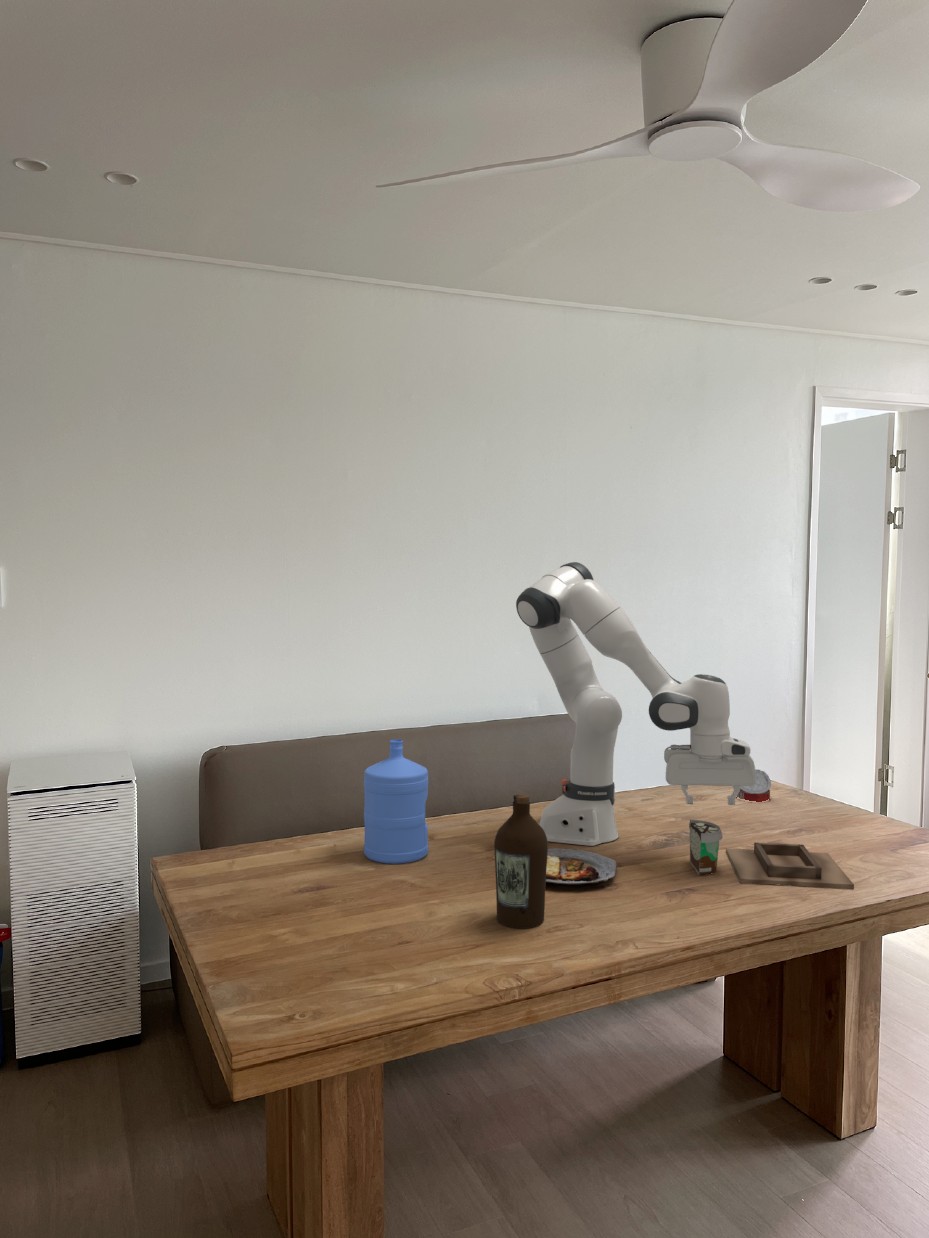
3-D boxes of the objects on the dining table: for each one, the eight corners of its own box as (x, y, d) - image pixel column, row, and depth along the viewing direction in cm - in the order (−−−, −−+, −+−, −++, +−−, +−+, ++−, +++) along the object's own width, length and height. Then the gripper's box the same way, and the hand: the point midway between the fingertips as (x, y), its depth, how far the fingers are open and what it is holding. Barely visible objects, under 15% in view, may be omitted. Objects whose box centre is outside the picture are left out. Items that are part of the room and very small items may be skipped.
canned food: (769, 814, 274) (784, 788, 270) (746, 815, 268) (761, 789, 264) (746, 789, 282) (760, 764, 278) (723, 790, 277) (737, 764, 273)
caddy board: (740, 883, 199) (741, 867, 199) (725, 852, 221) (726, 838, 221) (853, 889, 196) (854, 873, 196) (827, 857, 218) (828, 842, 218)
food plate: (613, 895, 191) (614, 879, 191) (505, 888, 196) (506, 872, 196) (617, 861, 216) (617, 847, 216) (521, 856, 220) (521, 841, 220)
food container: (728, 877, 203) (729, 834, 202) (700, 877, 203) (701, 834, 203) (714, 860, 215) (715, 819, 215) (688, 859, 215) (689, 818, 215)
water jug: (399, 869, 208) (399, 749, 206) (350, 856, 217) (350, 741, 215) (441, 852, 220) (441, 739, 218) (393, 840, 229) (393, 732, 228)
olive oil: (508, 905, 186) (508, 786, 184) (555, 915, 180) (556, 792, 179) (484, 923, 176) (485, 798, 175) (533, 934, 171) (534, 805, 170)
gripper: (665, 747, 206) (665, 806, 207) (757, 748, 203) (757, 808, 203) (663, 741, 212) (663, 799, 213) (752, 742, 209) (752, 801, 210)
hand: (710, 803), depth 208 cm, fingers open, 8 cm apart
